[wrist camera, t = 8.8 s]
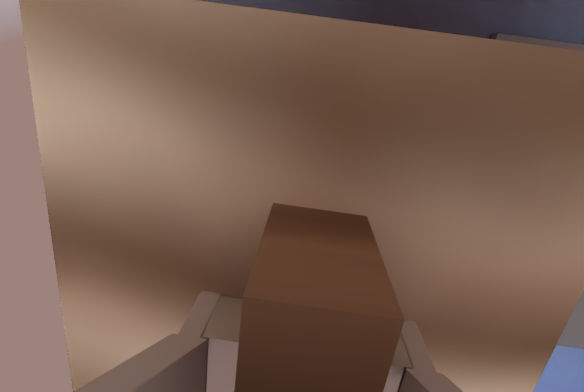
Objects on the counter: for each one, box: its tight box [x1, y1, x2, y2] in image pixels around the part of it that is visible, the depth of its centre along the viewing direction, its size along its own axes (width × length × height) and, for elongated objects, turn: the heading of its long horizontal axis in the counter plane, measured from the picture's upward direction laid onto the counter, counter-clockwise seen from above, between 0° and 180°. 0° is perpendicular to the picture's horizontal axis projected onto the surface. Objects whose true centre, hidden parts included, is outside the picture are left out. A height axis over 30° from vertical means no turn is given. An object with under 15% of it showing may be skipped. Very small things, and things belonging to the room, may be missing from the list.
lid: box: [19, 0, 584, 392], centre depth 9 cm, size 15×15×5 cm
